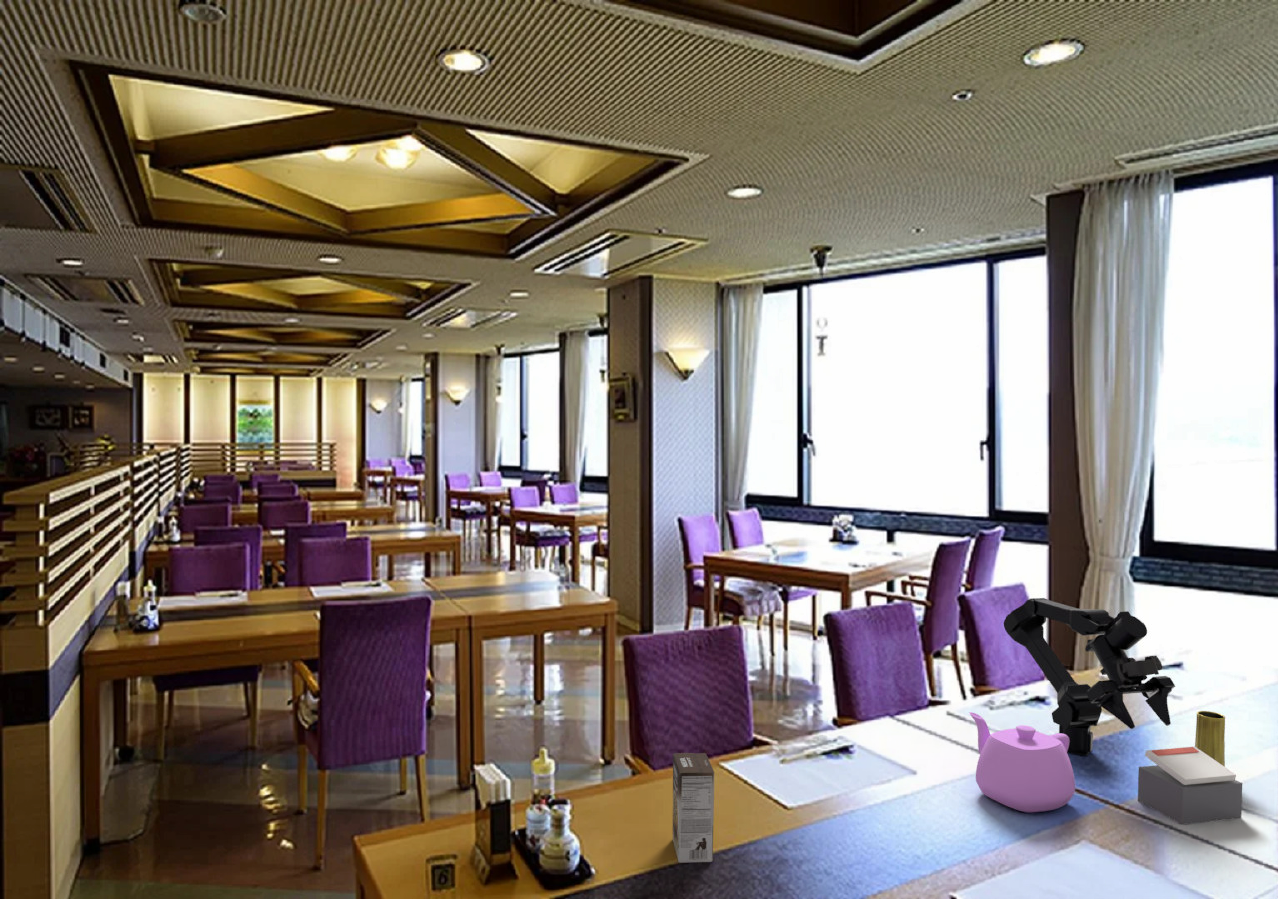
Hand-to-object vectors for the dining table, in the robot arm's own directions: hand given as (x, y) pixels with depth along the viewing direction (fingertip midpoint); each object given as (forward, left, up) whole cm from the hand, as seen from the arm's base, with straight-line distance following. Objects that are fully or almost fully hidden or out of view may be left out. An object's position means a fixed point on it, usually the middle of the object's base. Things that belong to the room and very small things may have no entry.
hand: (1151, 726), depth 185 cm
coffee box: (-61, -84, -13) cm, 105 cm away
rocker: (+8, -7, -4) cm, 11 cm away
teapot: (-20, -23, -13) cm, 34 cm away
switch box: (+8, -7, -13) cm, 17 cm away
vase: (+10, +14, -13) cm, 22 cm away
